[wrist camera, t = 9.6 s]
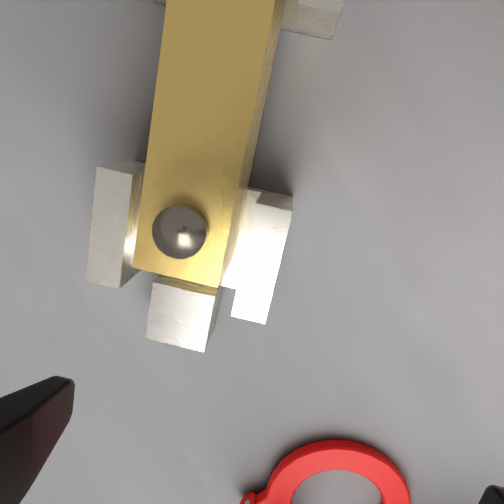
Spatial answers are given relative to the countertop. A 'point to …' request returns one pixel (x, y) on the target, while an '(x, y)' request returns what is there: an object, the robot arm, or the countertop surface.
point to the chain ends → (247, 245)
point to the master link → (204, 134)
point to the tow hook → (328, 458)
